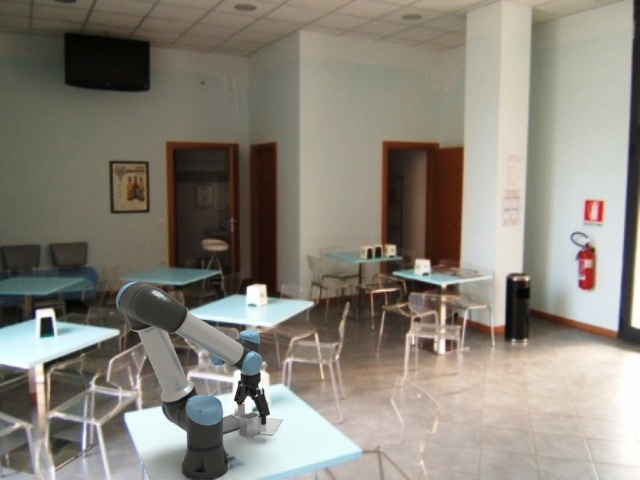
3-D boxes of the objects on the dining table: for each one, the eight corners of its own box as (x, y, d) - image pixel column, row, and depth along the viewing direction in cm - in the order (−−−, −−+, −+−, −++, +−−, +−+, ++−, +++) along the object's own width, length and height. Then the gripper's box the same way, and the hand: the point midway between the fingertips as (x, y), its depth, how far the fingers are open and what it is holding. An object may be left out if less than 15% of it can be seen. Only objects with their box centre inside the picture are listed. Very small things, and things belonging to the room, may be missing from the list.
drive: (246, 438, 216) (246, 419, 215) (239, 433, 219) (239, 415, 219) (262, 433, 220) (262, 414, 219) (254, 428, 224) (254, 410, 223)
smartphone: (255, 433, 219) (266, 417, 234) (255, 435, 219) (266, 419, 234) (272, 435, 218) (283, 419, 232) (272, 436, 218) (283, 420, 233)
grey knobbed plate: (217, 436, 217) (217, 426, 217) (200, 426, 226) (200, 416, 226) (252, 424, 228) (252, 415, 227) (235, 415, 237) (235, 406, 236)
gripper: (278, 378, 210) (279, 434, 213) (240, 361, 229) (241, 413, 232) (261, 383, 206) (263, 440, 208) (223, 366, 224) (225, 419, 227)
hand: (251, 426), depth 220 cm, fingers open, 13 cm apart
